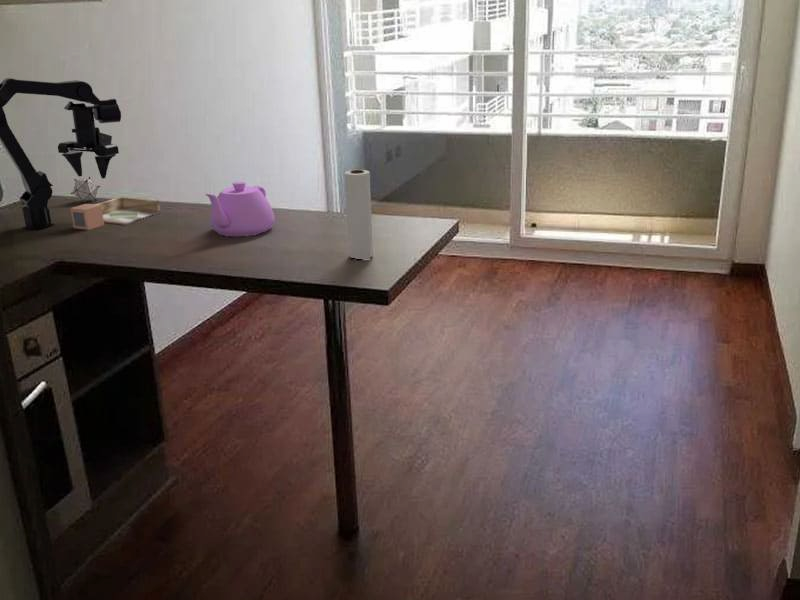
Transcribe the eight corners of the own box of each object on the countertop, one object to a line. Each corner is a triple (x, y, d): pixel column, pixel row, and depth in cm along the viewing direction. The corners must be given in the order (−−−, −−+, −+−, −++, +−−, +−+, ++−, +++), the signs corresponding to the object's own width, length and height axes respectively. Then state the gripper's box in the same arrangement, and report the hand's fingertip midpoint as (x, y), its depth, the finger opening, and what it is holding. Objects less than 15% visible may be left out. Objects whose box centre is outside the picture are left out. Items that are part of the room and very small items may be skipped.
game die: (91, 211, 268) (99, 184, 270) (98, 206, 261) (106, 178, 263) (64, 201, 263) (73, 173, 265) (70, 196, 256) (79, 167, 259)
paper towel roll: (351, 253, 201) (346, 168, 193) (374, 253, 200) (371, 168, 192) (346, 261, 194) (341, 174, 186) (370, 262, 193) (367, 174, 186)
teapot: (243, 217, 238) (238, 172, 233) (292, 223, 230) (288, 176, 226) (186, 239, 217) (180, 189, 213) (238, 246, 210) (233, 195, 205)
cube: (88, 230, 229) (84, 209, 227) (73, 228, 232) (69, 208, 230) (104, 225, 235) (101, 205, 233) (89, 223, 237) (86, 203, 235)
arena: (124, 224, 234) (122, 211, 232) (86, 220, 240) (84, 207, 239) (160, 213, 246) (158, 200, 245) (123, 209, 253) (121, 196, 251)
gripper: (128, 122, 238) (134, 174, 243) (81, 120, 245) (88, 170, 251) (101, 127, 229) (108, 181, 234) (52, 124, 236) (60, 177, 241)
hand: (91, 177), depth 240 cm, fingers open, 9 cm apart
